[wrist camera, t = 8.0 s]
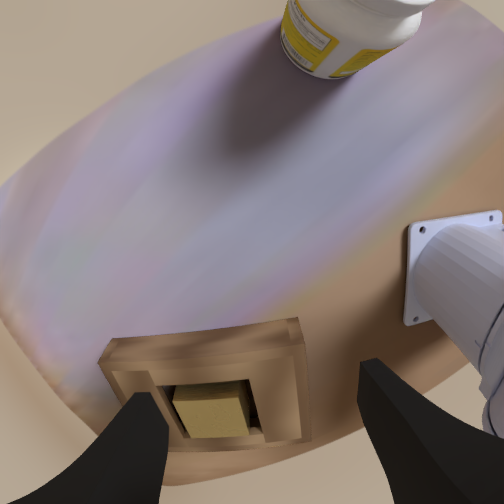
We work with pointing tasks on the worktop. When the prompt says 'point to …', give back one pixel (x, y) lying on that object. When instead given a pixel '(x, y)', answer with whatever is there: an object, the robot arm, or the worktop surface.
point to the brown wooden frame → (221, 378)
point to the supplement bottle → (346, 32)
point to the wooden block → (214, 409)
